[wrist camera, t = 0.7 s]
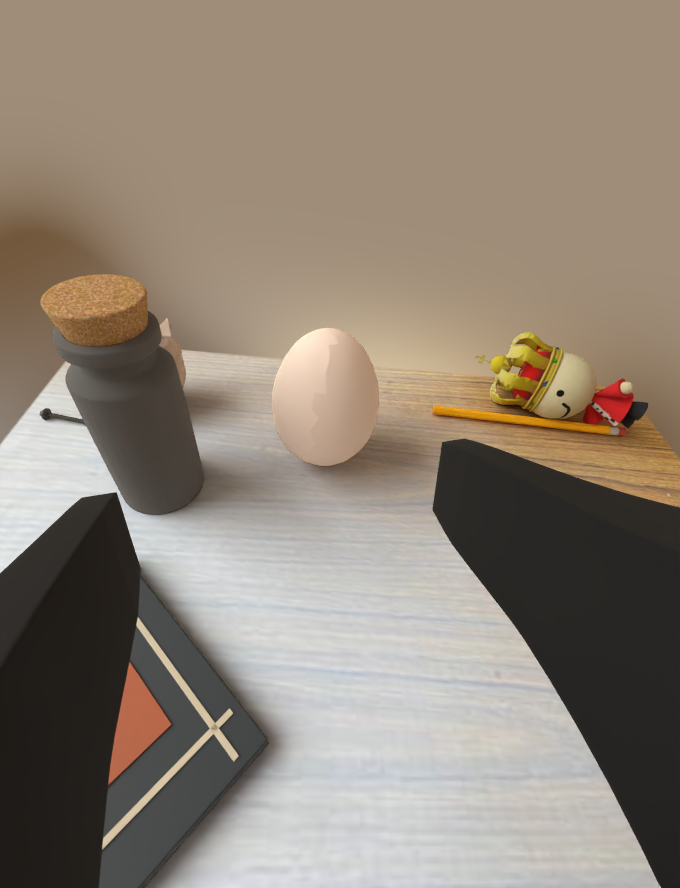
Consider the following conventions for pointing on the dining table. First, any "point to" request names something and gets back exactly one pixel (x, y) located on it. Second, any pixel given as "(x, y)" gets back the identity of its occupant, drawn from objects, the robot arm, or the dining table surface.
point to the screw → (58, 416)
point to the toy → (560, 385)
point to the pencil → (528, 421)
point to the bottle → (126, 389)
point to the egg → (325, 397)
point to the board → (168, 748)
